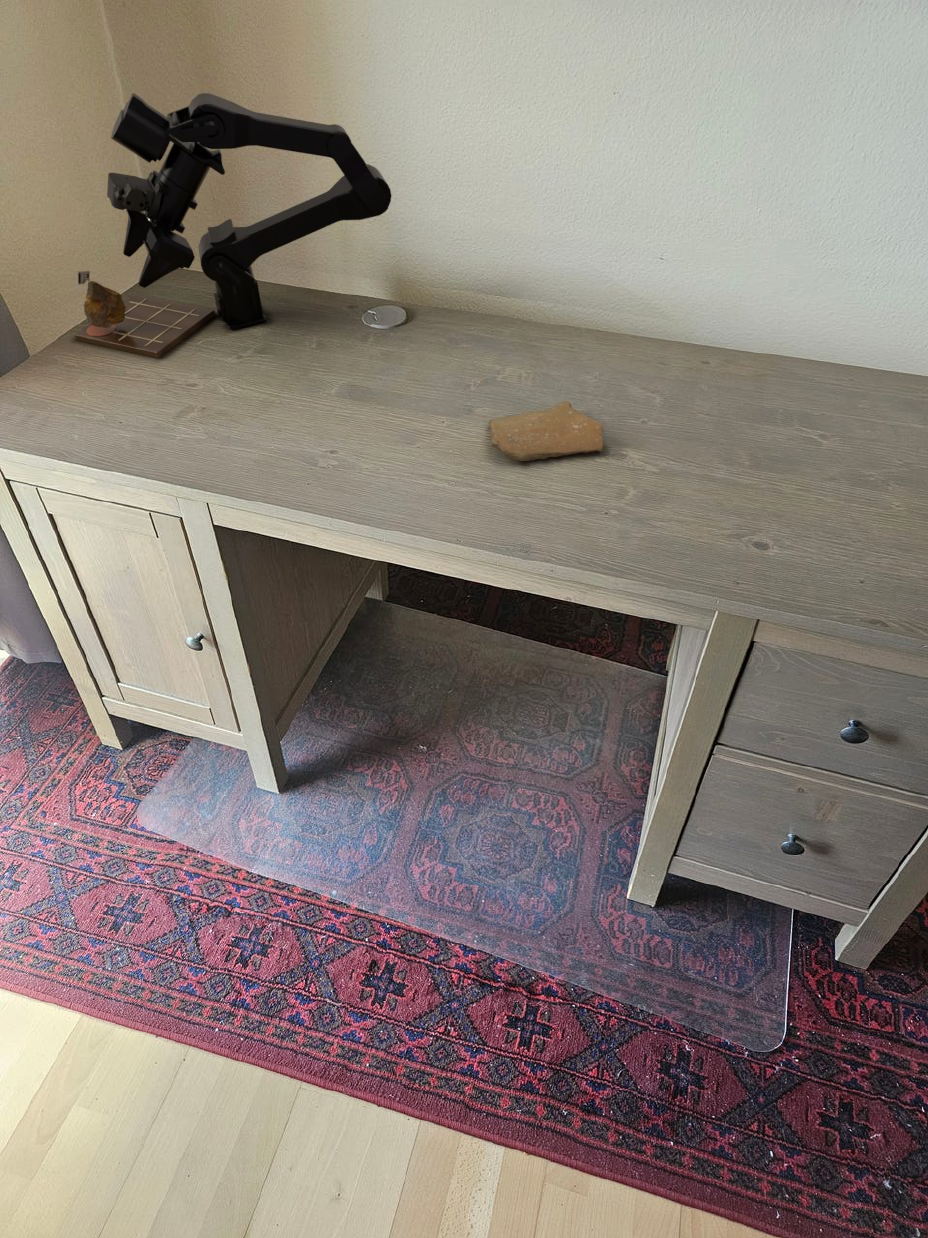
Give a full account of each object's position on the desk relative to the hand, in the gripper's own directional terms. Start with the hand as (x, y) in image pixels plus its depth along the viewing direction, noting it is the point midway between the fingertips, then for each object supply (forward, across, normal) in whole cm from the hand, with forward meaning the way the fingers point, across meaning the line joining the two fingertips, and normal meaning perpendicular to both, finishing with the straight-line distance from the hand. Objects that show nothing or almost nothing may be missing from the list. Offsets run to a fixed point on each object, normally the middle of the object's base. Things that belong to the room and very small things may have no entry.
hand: (133, 270), depth 130 cm
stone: (-24, +58, +33) cm, 71 cm away
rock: (+12, 0, 0) cm, 12 cm away
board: (+8, 0, +6) cm, 10 cm away
